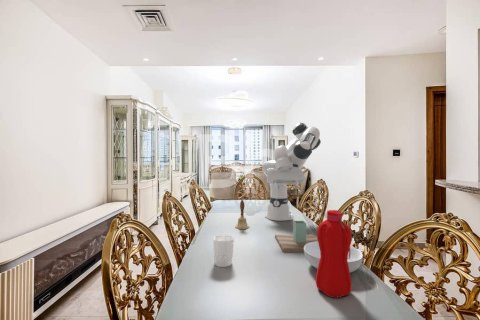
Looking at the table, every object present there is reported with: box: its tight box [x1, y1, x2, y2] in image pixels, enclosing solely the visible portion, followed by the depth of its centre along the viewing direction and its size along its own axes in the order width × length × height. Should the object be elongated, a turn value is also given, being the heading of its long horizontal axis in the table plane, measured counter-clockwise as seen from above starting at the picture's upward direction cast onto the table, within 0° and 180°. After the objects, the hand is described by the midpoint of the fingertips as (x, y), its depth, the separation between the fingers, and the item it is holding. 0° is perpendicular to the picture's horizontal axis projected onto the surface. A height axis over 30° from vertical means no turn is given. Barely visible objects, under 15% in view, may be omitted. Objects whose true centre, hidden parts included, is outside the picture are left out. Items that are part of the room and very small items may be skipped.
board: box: [274, 234, 318, 253], centre depth 124 cm, size 20×20×2 cm
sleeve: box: [292, 220, 307, 243], centre depth 124 cm, size 5×5×9 cm
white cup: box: [212, 234, 235, 268], centre depth 101 cm, size 8×8×10 cm
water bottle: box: [315, 209, 353, 298], centre depth 80 cm, size 9×11×25 cm
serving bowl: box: [303, 241, 364, 274], centre depth 98 cm, size 21×21×7 cm
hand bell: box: [235, 199, 250, 230], centre depth 153 cm, size 8×8×16 cm
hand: (287, 188), depth 137 cm, fingers open, 8 cm apart
